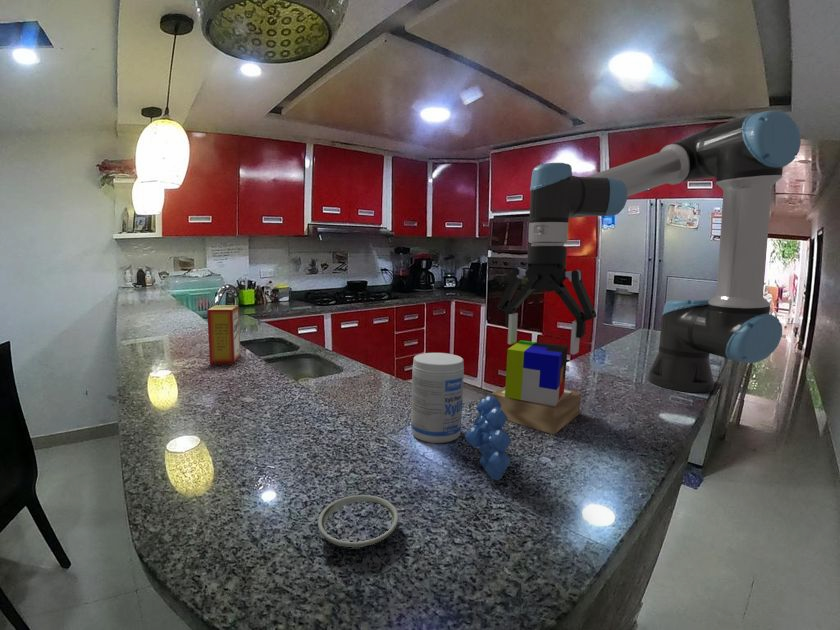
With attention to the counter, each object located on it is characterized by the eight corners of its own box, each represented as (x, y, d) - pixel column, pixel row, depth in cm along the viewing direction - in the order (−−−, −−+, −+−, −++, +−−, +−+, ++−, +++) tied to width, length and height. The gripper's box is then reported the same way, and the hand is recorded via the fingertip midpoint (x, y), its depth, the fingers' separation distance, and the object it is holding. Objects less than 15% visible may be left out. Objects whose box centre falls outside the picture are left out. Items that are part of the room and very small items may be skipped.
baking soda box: (234, 362, 125) (231, 308, 122) (209, 363, 123) (207, 308, 121) (240, 354, 134) (238, 304, 131) (217, 355, 132) (215, 304, 130)
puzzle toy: (555, 406, 83) (559, 356, 81) (504, 397, 87) (507, 349, 86) (564, 391, 91) (567, 346, 90) (517, 384, 96) (520, 340, 94)
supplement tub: (454, 449, 75) (458, 367, 73) (403, 440, 78) (405, 361, 75) (465, 427, 84) (469, 354, 82) (419, 420, 87) (421, 349, 85)
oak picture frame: (579, 413, 93) (581, 391, 92) (554, 434, 82) (556, 409, 81) (519, 398, 101) (521, 377, 101) (489, 415, 91) (491, 392, 90)
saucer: (393, 507, 58) (394, 491, 58) (402, 558, 49) (403, 539, 48) (320, 513, 56) (320, 496, 56) (315, 567, 47) (314, 547, 47)
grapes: (454, 454, 73) (457, 386, 71) (493, 453, 74) (497, 386, 72) (472, 493, 61) (476, 413, 60) (517, 491, 62) (523, 412, 61)
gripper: (483, 244, 91) (480, 342, 94) (606, 245, 75) (597, 362, 79) (500, 244, 97) (497, 336, 100) (618, 245, 81) (609, 354, 85)
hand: (541, 348), depth 89 cm, fingers open, 13 cm apart
